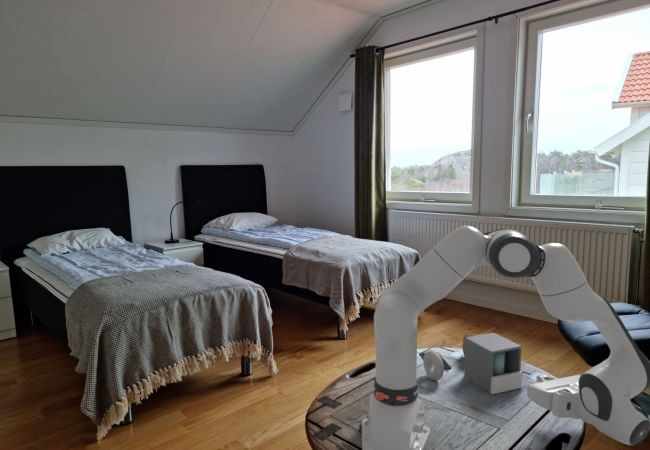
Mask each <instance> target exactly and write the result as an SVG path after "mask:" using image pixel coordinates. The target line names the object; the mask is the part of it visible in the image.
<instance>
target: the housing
mask: <svg viewBox="0 0 650 450" xmlns="http://www.w3.org/2000/svg"><path fill="white" fill-rule="evenodd" d="M476 335H477V336H471V337H465V356H464V370H463V371H464V375H463V376H464V377H465V378H466V379H468V380H469V381H471V382H473V383H474V384H475V385H476V386H478V387H480V388H481V389H483V390H484V391H485V392H487V393H489V394H491V377H493V354H495V353H500V352H505V366H504V372H505V373H507V374H508V373H513V372H518V371H521V368H522V367H521V366H522V364H521V363H522V345H520V344H518V343H516V342H515V341H514V342H513V341H512V340H510V339H507V338H506V337H503V335H502V336H501V335H500V334H497V333H495V332H490V333H489V332H488V333H484V334H476Z"/></svg>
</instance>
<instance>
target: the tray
mask: <svg viewBox="0 0 650 450" xmlns="http://www.w3.org/2000/svg"><path fill="white" fill-rule="evenodd" d="M523 377H524V376H523V371H522V370H520V371H518V372H513V373H508V374H507V373H505V372H504V375H499V376H494V377H491V393H490V394H491V395H495V394H501V393H504V392H509V391H513V390H517V389H521V388H523Z"/></svg>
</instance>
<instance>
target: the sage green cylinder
mask: <svg viewBox="0 0 650 450" xmlns="http://www.w3.org/2000/svg"><path fill="white" fill-rule="evenodd" d="M504 366H505V352H500V353H495V354H493V377H494V376H499V375H504Z"/></svg>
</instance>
